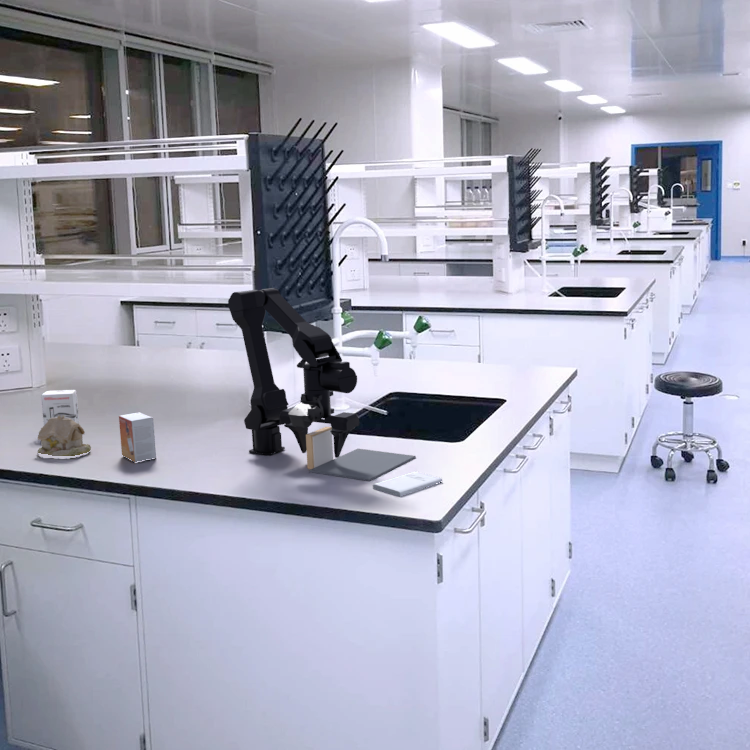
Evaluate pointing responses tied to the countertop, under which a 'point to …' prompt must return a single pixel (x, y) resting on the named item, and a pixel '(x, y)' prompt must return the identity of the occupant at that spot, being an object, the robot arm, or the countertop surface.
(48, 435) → the ceramic model
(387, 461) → the mat
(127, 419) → the small box
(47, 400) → the ink box
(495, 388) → the countertop surface
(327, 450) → the tile
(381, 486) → the external hard drive
